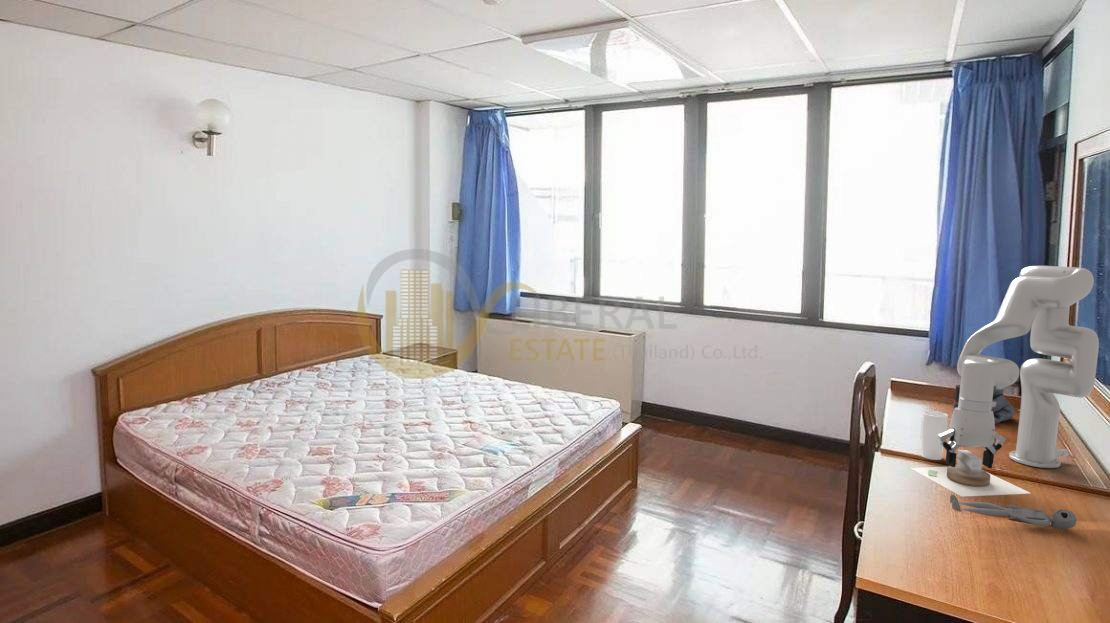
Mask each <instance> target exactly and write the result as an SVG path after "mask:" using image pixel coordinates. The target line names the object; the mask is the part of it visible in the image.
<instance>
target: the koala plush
mask: <svg viewBox="0 0 1110 623" xmlns="http://www.w3.org/2000/svg"><path fill="white" fill-rule="evenodd" d="M1007 387H1008V386H994V389H993V398H992V400H993V402H996V406H993V407H992V410H991V411H992V412H993V414H994V421H995V424H999V423H1001V422H1002V423H1003V422H1006V421H1009V420H1011V419H1013V418H1014V416H1015V410H1014V407H1013V406H1012V404H1011V403H1010V402H1009V401H1008V400H1007V399H1006V398H1005V395H1004V390H1005V388H1007ZM952 408H953V409H954V403H953V405H952Z"/></svg>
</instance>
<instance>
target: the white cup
mask: <svg viewBox="0 0 1110 623" xmlns="http://www.w3.org/2000/svg"><path fill="white" fill-rule="evenodd" d="M948 423H949V415H948V414H947V413H945V412H941V411H936V410H924V411H923V412H922V415H921V424H920V425H921V426H920V427H921V434H920V435H921V454H920V455H921V457H922V458H924V459H927V460H932V461H940V460H942V459H943V453H944V449H945V448H944V447H943V446H942V445H941V442H940V440H939V438H938V435H939V434H942V433H944V432H946V431H948V428H949V427H948V425H949V424H948Z"/></svg>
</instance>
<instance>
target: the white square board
mask: <svg viewBox="0 0 1110 623" xmlns="http://www.w3.org/2000/svg"><path fill="white" fill-rule="evenodd" d="M949 466H950V465H948V466H931V467H930V466H929V467H926V466H925V467H909V469H911V470H912V471H914V472H916V473H917V474H920V475H921V476H923V477H925V478H927V479H929V480H931V481H932V482H934V483H936V484H938V485H939V486H942V488H943V487H944V488H945V489H947V490H948V491H950V492H952V493H954V494H956V495H958V496H960V497H961V498H963V497H966V498H967V497H984V496H985V497H986V496H1006V495H1009V496H1010V495H1027V494H1030V495H1031V494H1032V493H1031V492H1029V491H1027V490H1025V489H1023V488H1021V487H1019V486H1017V485H1015V484H1013V483H1010V482H1008V481H1006V480H1005V479H1002V478H1000V477H999V476H996V475H995V474H994V475H993V474H991V473H989V472H988V471H986V472H987V473H989V474H990V484H989V485H987V486H971V485H965V484H961V483H958V482H955V481H953V480H951V479H949V478H948V477H947V467H949Z"/></svg>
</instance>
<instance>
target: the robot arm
mask: <svg viewBox="0 0 1110 623" xmlns="http://www.w3.org/2000/svg"><path fill="white" fill-rule="evenodd" d="M1094 283H1095V280H1094V275H1093V273H1092V272H1091V270H1089V269H1087V268H1084V267H1077V266H1076V267H1075V266H1074V267H1073V266H1057V265H1056V266H1055V265H1054V266H1053V265H1029V266H1026V267H1024V268H1022V269H1021V270H1020V272H1019V276H1018V277H1016V278H1015V279H1013V280H1012V281H1011V282H1010V284H1009V286H1008V288H1007V291H1006V292H1005V295H1004V298H1003V299H1002V300H1003V301H1002V302H1001V305H1000V307H999V310H998V311H997V314H996V316H995V319H994V320H993V321H991V322H989V323H988V324H986V325H984V326H982V327H981V328H979V329H978V330H977V331H976V332H974V333H972V335H971V336H970V337H969V338H968V339H967V341H966V342H965V344H964V345H963V348H962V351H961V353H960V354H959V358H958V360H957V365H956V370H957V372H958V375H959V376H960V384H959V385H960V394H959V404H958V408H955V409H954V408H953V412H952V415H951V417H950V421H949V422H950V423H949V427H948V429H947V431H946V432H944V433H942V434H939V435H938V438H939V440H940V442H941V445H942V446H943V447H944V448H943V449H945V450H946V451H945V452H946V453H945V454H946V455H945V461H946V465H948V466H951V467H955V465H956V464H957V453H956V451H957V450H959V448H960V447H963V448H965V447H966V448H984V450H983V454H982V459H983V460H982V466H984V467H986V468H988V469H992V468H993V464H994V457H995V455H996V454H997V452H998V451H999V450H1000V449H1002V446H1003V445H1004V443H1005V442H1006V437H1004V436H1002V435H1001V434H998V433H997V432H995V431H996V430H995V429H996V425H995V424H996V423H995V421H994V414H993V412H992V411H991V410H992V407H993V406H996V402H993V400H992V398H993V389H994V386H1007V387H1008V386H1013V385H1014V384H1015V383H1016V382H1017V380H1018V379H1019V378H1020V387H1021V394H1020V396H1021V399H1020V410H1019V417H1018V428H1017V438H1016V448H1015V450H1012V451H1010V452H1009V453H1008V455H1009V457H1008V458H1010V459H1011V460H1012V461H1014V462H1016V463H1019V464H1022V465H1026V466H1029V467H1035V468H1042V469H1057V468H1059V467H1061V462H1062V461H1060V460H1059V457H1067V456H1069V455H1070V453H1069V450H1068V449H1066V448H1065V449H1064V448H1063V449H1059V448H1057V439H1058V430H1059V421H1060V415H1061V414H1060V413H1061V406H1060V402H1059V400H1058V399H1057V398H1056V396H1055V394H1057V395H1061V396H1062V395H1063V396H1068V397H1072V398H1079V399H1080V398H1086V397H1088V396H1089V395H1091V393H1092V392H1093V390H1094V387H1095V386H1094V385H1095V382H1096V373H1097V366H1098V365H1097V364H1098V358H1099V348H1100V341H1099V337H1098V334H1097V333H1096V332H1095V330H1093V329H1092V328H1088V327H1084V326H1079V325H1078V326H1076V325H1070V323H1069V321H1070V319H1069V317H1070V307H1071V306H1073V305H1074V304H1075V303H1077V302H1079V301H1081V300H1082V299H1084V298H1086V297H1087V296H1088V295H1089V294H1090V293H1091V291H1092V289H1093V287H1094ZM1029 332H1030V339H1029V342H1030V344H1029V345H1030V349H1031V350H1032V351H1033V352H1034V353H1037V354H1041V355H1044V356H1045V355H1046V356H1051V357H1057V358H1065V359H1070V360H1071V362H1072V363H1071V362H1065V361H1061V360H1053V359H1048V358H1047V359H1046V358H1030V359H1027V360H1025V361H1024V362H1023V363H1022V364H1021V366H1020V368H1019V365H1018V364H1017V363H1016V362H1014V361H1012V360H1010V359H1007V358H1001V357H997V356H990V355H984V354H981V353H982V351H983V350H984V349H985V348H987V347H988V346H990V345H992V344H995V343H997V342H1000V341H1005V340H1010V339H1013V338H1017V337H1021V336H1022V337H1023V336H1025V335H1027V334H1028V333H1029ZM947 439H948V441H949V442H948V441H947ZM995 440H996V441H995Z"/></svg>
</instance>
